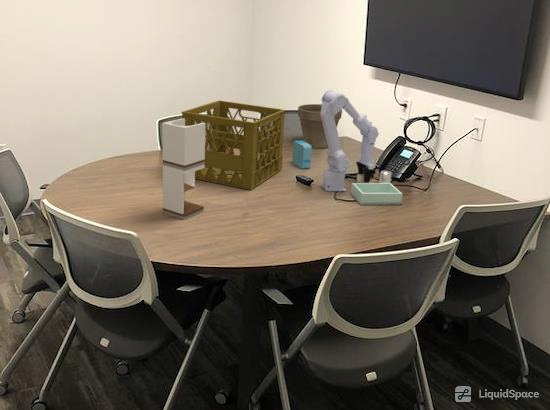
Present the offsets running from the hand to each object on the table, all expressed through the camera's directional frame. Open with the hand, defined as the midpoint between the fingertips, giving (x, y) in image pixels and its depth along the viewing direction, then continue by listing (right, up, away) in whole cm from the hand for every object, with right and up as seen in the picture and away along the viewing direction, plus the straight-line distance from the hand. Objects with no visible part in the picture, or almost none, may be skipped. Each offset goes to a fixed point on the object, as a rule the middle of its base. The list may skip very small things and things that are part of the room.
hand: (363, 179), depth 265 cm
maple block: (0, -3, +1) cm, 3 cm away
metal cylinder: (+10, -3, +2) cm, 10 cm away
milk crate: (-61, +3, +6) cm, 61 cm away
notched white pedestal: (-77, -15, -44) cm, 89 cm away
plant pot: (-17, +23, +66) cm, 72 cm away
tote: (+3, -9, -16) cm, 18 cm away
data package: (-28, +8, +25) cm, 38 cm away
